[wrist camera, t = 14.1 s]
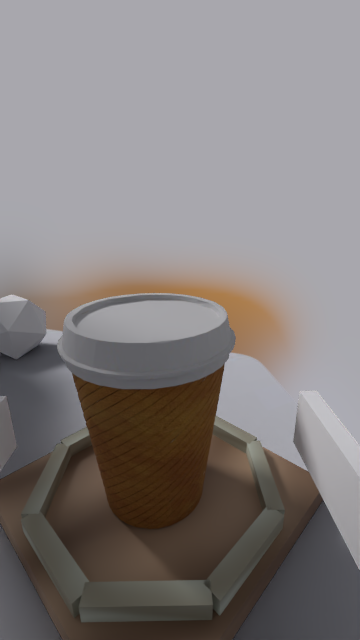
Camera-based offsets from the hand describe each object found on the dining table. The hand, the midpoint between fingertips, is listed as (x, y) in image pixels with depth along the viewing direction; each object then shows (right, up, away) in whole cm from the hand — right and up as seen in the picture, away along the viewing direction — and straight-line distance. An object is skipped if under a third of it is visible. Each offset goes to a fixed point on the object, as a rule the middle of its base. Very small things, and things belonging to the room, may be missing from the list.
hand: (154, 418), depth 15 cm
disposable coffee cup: (-1, -7, +7) cm, 9 cm away
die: (-22, 0, +31) cm, 38 cm away
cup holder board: (0, -8, +7) cm, 11 cm away
